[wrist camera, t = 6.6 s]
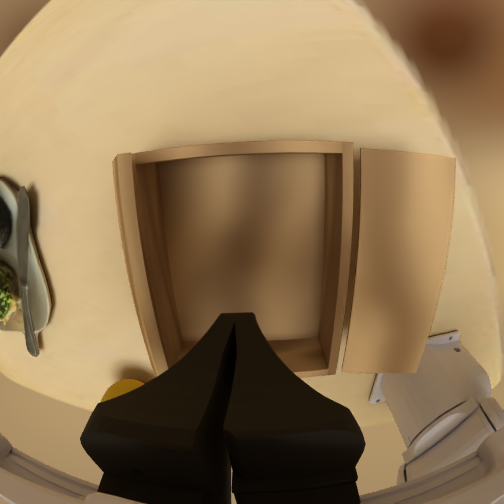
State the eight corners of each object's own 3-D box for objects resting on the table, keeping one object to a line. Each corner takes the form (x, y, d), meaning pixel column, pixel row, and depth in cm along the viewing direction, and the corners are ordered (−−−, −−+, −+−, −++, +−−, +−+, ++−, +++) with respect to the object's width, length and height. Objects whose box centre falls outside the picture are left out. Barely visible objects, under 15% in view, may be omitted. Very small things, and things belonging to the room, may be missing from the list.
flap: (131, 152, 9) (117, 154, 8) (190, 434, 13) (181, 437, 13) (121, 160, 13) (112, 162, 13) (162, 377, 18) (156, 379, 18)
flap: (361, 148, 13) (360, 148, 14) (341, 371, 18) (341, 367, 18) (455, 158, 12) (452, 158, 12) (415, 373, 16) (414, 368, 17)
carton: (330, 145, 17) (352, 142, 13) (322, 338, 22) (335, 374, 18) (152, 154, 18) (124, 154, 13) (178, 342, 22) (165, 378, 18)
